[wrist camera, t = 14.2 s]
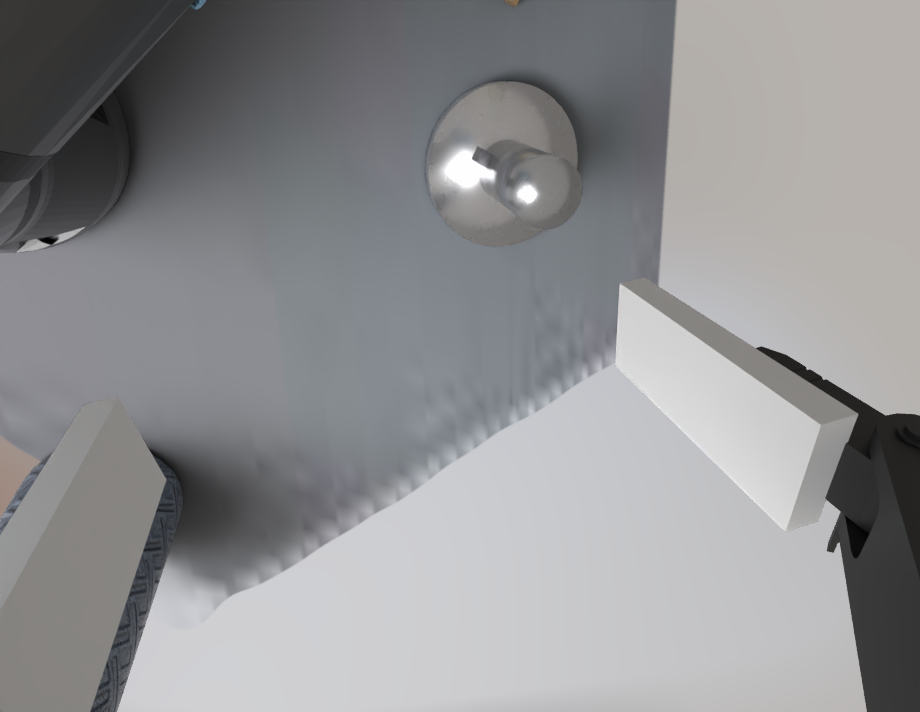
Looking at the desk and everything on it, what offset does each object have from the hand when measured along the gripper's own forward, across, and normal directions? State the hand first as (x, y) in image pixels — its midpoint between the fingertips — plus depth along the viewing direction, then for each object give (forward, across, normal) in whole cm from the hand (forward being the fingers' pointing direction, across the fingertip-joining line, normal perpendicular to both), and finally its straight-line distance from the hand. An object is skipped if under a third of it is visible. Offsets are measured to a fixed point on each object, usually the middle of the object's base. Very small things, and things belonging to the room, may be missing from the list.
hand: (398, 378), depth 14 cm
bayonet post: (+29, +12, -1) cm, 31 cm away
